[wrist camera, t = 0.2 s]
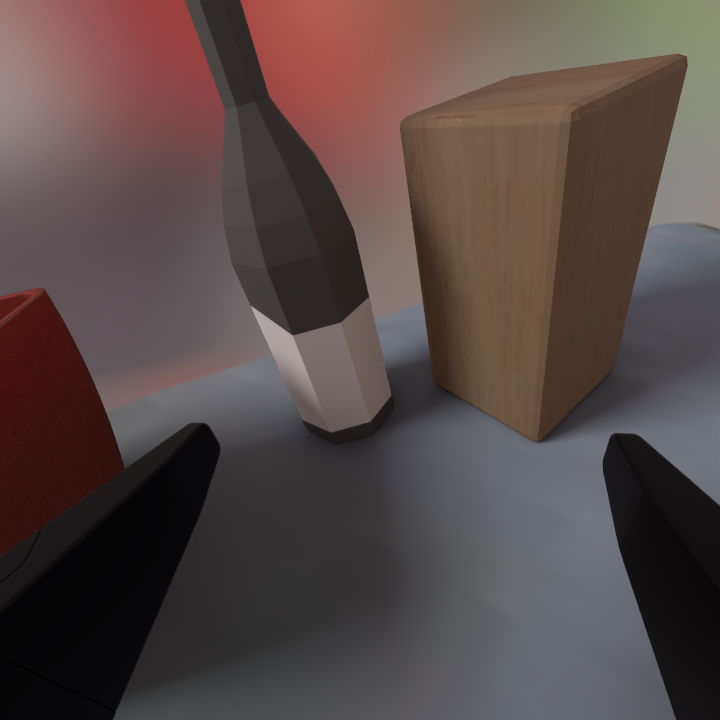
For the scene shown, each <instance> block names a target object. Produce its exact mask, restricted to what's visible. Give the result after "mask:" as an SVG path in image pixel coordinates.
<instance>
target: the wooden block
mask: <svg viewBox="0 0 720 720" xmlns="http://www.w3.org/2000/svg"><path fill="white" fill-rule="evenodd" d="M687 66H688V64H687V57H686V56H683V55H681V54H674V55H666V56H658V57H651V58H643V59H636V60H629V61H622V62H614V63H607V64H600V65H592V66H585V67H577V68H570V69H563V70H555V71H548V72H541V73H533V74H526V75H519V76H511V77H509V78H506V79H504V80H501V81H498V82H496V83H493V84H491V85H488V86H486V87H483V88H480V89H478V90H475V91H472V92H469V93H467V94H464V95H462V96H459V97H457V98H454V99H451V100H448V101H446V102H443V103H441V104H438V105H436V106H433V107H430V108H427V109H425V110H422V111H420V112H417V113H414V114H412V115H409V116H407V117H406V118H405V119H404V120H403V121H402V122H401V125H400V131H401V139H402V147H403V154H404V162H405V169H406V177H407V184H408V191H409V199H410V207H411V214H412V222H413V230H414V237H415V245H416V252H417V259H418V268H419V275H420V282H421V290H422V297H423V305H424V313H425V320H426V328H427V336H428V343H429V351H430V358H431V366H432V373H433V380H434V381H435V383H436V384H437V385H439V386H441V387H442V388H444V389H446V390H447V391H449V392H451V393H452V394H454V395H456V396H457V397H459V398H461V399H463V400H464V401H466V402H468V403H469V404H471V405H473V406H474V407H476V408H478V409H479V410H481V411H483V412H485V413H486V414H488V415H490V416H491V417H493V418H495V419H496V420H498V421H500V422H501V423H503V424H505V425H506V426H508V427H510V428H512V429H513V430H515V431H517V432H518V433H520V434H522V435H523V436H525V437H527V438H528V439H530V440H532V441H535V442H538V441H541V440H542V439H543V438H544V437H545V436H546V435H547V434H548V433H549V432H550V431H551V430H552V429H553V428H554V427H555V426H556V425H557V424H558V423H559V422H560V421H561V420H562V419H563V418H564V417H565V416H566V415H567V414H568V413H569V412H570V411H571V410H572V409H573V408H574V407H575V406H576V405H577V404H578V403H579V402H580V401H581V400H582V399H584V398H585V397H586V396H587V395H588V394H589V393H590V392H591V391H592V390H593V389H594V388H595V387H596V386H597V385H598V384H599V383H600V382H601V381H602V380H603V379H604V378H605V377H606V376H607V375H608V374H609V373H610V372H611V371H612V370H613V368H614V363H615V359H616V355H617V351H618V347H619V343H620V339H621V335H622V331H623V327H624V323H625V319H626V315H627V311H628V306H629V302H630V298H631V294H632V290H633V286H634V282H635V278H636V274H637V270H638V266H639V262H640V258H641V254H642V249H643V245H644V241H645V237H646V233H647V229H648V225H649V221H650V216H651V213H652V208H653V205H654V201H655V197H656V192H657V188H658V184H659V180H660V176H661V172H662V168H663V164H664V160H665V156H666V152H667V147H668V143H669V139H670V135H671V131H672V127H673V123H674V119H675V115H676V111H677V107H678V103H679V99H680V95H681V91H682V87H683V83H684V79H685V74H686V70H687Z"/></svg>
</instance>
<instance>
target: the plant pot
mask: <svg viewBox="0 0 720 720" xmlns="http://www.w3.org/2000/svg"><path fill="white" fill-rule="evenodd" d="M124 469H125V468H124V465H123V461H122V458H121V455H120V451H119V448H118V445H117V442H116V439H115V436H114V433H113V430H112V427H111V424H110V421H109V419H108V416H107V414H106V411H105V408H104V406H103V403H102V401H101V398H100V396H99V394H98V391H97V389H96V387H95V384H94V382H93V380H92V377H91V375H90V373H89V371H88V368H87V366H86V364H85V362H84V360H83V358H82V356H81V354H80V352H79V350H78V348H77V346H76V344H75V342H74V340H73V338H72V336H71V334H70V332H69V330H68V328H67V326H66V325H65V323H64V321H63V319H62V317H61V316H60V314H59V312H58V311H57V309H56V307H55V305H54V304H53V302H52V300H51V299H50V297H49V296H48V294H47V293H46V291H45V290H44V289H43V288H36V289H31V290H27V291H22V292H18V293H14V294H10V295H5V296H1V297H0V556H1V555H3V554H4V553H6V552H7V551H9V550H10V549H12V548H13V547H15V546H16V545H17V544H19V543H20V542H22V541H23V540H25V539H26V538H28V537H29V536H30V535H32V534H33V533H35V532H36V531H37V530H39V529H40V528H43V527H44V526H45V525H46V524H47V523H49V522H50V521H52V520H53V519H55V518H56V517H57V516H59V515H60V514H62V513H63V512H64V511H66V510H67V509H69V508H70V507H72V506H73V505H74V504H76V503H77V502H79V501H80V500H82V499H83V498H84V497H86V496H87V495H89V494H90V493H91V492H93V491H94V490H96V489H97V488H99V487H100V486H101V485H103V484H104V483H106V482H107V481H109V480H110V479H111V478H113V477H114V476H116V475H117V474H118V473H120V472H121V471H123V470H124Z"/></svg>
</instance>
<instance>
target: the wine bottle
mask: <svg viewBox="0 0 720 720" xmlns="http://www.w3.org/2000/svg"><path fill="white" fill-rule="evenodd" d="M185 2H186V4H187V7H188V10H189V13H190V15H191V18H192V21H193V24H194V26H195V29H196V32H197V34H198V37H199V40H200V43H201V45H202V48H203V51H204V54H205V56H206V59H207V62H208V65H209V67H210V70H211V73H212V76H213V78H214V81H215V84H216V86H217V89H218V92H219V95H220V97H221V100H222V103H223V106H224V108H225V126H224V148H223V165H222V180H221V192H222V203H223V217H224V228H225V233H226V238H227V243H228V247H229V252H230V257H231V262H232V265H233V267H234V269H235V272H236V274H237V276H238V279H239V280H240V283H241V285H242V287H243V290H244V292H245V294H246V296H247V298H248V301H249V303H250V305H251V307H252V310H253V312H254V314H255V316H256V319H257V321H258V323H259V325H260V327H261V330H262V332H263V334H264V336H265V339H266V341H267V343H268V345H269V347H270V350H271V352H272V354H273V356H274V359H275V361H276V363H277V365H278V367H279V370H280V372H281V374H282V376H283V379H284V381H285V383H286V385H287V387H288V390H289V392H290V394H291V396H292V399H293V401H294V403H295V405H296V407H297V410H298V412H299V414H300V416H301V419H302V421H303V423H304V425H305V427H306V428H307V429H308V431H309V432H311V433H313V434H315V435H318V436H320V437H322V438H324V439H326V440H328V441H331V442H333V443H335V444H339V443H343V442H346V441H350V440H354V439H357V438H361V437H365V436H368V435H372V434H374V433H375V431H376V430H377V429H378V427H379V426H380V425H381V424H382V422H383V421H384V420H385V418H386V417H387V416H388V415H389V413H390V412H391V411H392V409H393V400H392V395H391V391H390V386H389V382H388V377H387V373H386V369H385V364H384V360H383V355H382V351H381V347H380V342H379V338H378V334H377V329H376V325H375V320H374V316H373V312H372V307H371V303H370V299H369V294H368V290H367V285H366V281H365V277H364V272H363V268H362V263H361V259H360V255H359V250H358V246H357V242H356V237H355V233H354V229H353V227H352V225H351V223H350V220H349V218H348V216H347V214H346V212H345V210H344V207H343V205H342V203H341V201H340V198H339V196H338V194H337V192H336V190H335V188H334V185H333V184H332V182H331V181H330V179H329V177H328V175H327V174H326V172H325V170H324V169H323V167H322V166H321V164H320V162H319V161H318V159H317V157H316V155H315V154H314V153H313V151H312V150H311V149H310V148H309V146H308V145H307V144H306V143H305V142H304V140H303V139H302V138H301V137H300V136H299V134H298V133H297V132H296V130H295V129H294V128H293V127H292V125H291V124H290V123H289V122H288V121H287V119H286V118H285V117H284V116H283V114H282V113H281V112H280V110H279V109H278V108H277V107H276V105H275V103H274V102H273V101H272V99H271V98H270V97H269V94H268V91H267V88H266V84H265V81H264V78H263V74H262V72H261V68H260V64H259V61H258V58H257V54H256V51H255V48H254V45H253V41H252V38H251V34H250V31H249V28H248V24H247V22H246V18H245V14H244V11H243V8H242V4H241V1H240V0H185Z"/></svg>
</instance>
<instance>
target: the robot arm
mask: <svg viewBox="0 0 720 720" xmlns="http://www.w3.org/2000/svg"><path fill="white" fill-rule="evenodd" d="M219 454H220V444H219V442H218V441H217V439H216V437H215V435H214V434H213V432H212V430H211V429H210V427H209V426H208V425H207V424H206V423H190V424H188V425H187V426H185V427H184V428H182V429H181V430H180V431H178V432H177V433H175V434H174V435H172V436H171V437H170V438H168V439H167V440H165V441H164V442H163V443H161V444H160V445H158V446H157V447H155V448H154V449H153V450H151V451H150V452H148V453H147V454H145V455H144V456H143V457H141V458H140V459H138V460H137V461H136V462H134V463H133V464H131V465H130V466H128V467H127V468H126V469H124V470H123V471H121V472H120V473H118V474H117V475H116V476H114V477H113V478H111V479H110V480H109V481H107V482H106V483H104V484H103V485H101V486H100V487H99V488H97V489H96V490H94V491H93V492H91V493H90V494H89V495H87V496H86V497H84V498H83V499H82V500H80V501H79V502H77V503H76V504H74V505H73V506H72V507H70V508H69V509H67V510H66V511H64V512H63V513H62V514H60V515H59V516H57V517H56V518H55V519H53V520H52V521H50V522H49V523H47V524H46V525H45V526H44V527H43V528H40V529H39V530H37V531H36V532H35V533H33V534H32V535H30V536H29V537H28V538H26V539H25V540H23V541H22V542H20V543H19V544H17V545H16V546H15V547H13V548H12V549H10V550H9V551H7V552H6V553H4V554H3V555H1V556H0V720H113V718H114V716H115V713H116V711H115V710H117V708H118V706H119V703H120V701H121V699H122V696H123V694H124V692H125V689H126V687H127V685H128V682H129V680H130V678H131V675H132V673H133V671H134V668H135V666H136V664H137V661H138V659H139V657H140V654H141V652H142V649H143V647H144V645H145V642H146V640H147V638H148V635H149V633H150V631H151V628H152V626H153V624H154V621H155V619H156V617H157V614H158V612H159V610H160V607H161V605H162V602H163V600H164V598H165V595H166V593H167V591H168V588H169V586H170V584H171V581H172V579H173V577H174V574H175V572H176V570H177V567H178V565H179V563H180V560H181V558H182V556H183V553H184V551H185V548H186V546H187V544H188V541H189V539H190V537H191V534H192V532H193V530H194V527H195V525H196V523H197V520H198V518H199V515H200V513H201V510H202V508H203V505H204V502H205V499H206V496H207V492H208V489H209V486H210V483H211V480H212V477H213V473H214V470H215V467H216V464H217V461H218V458H219ZM603 473H604V478H605V483H606V488H607V493H608V498H609V503H610V507H611V512H612V517H613V522H614V527H615V532H616V536H617V541H618V545H619V549H620V552H621V555H622V559H623V562H624V565H625V568H626V571H627V574H628V577H629V580H630V583H631V586H632V589H633V592H634V595H635V598H636V601H637V604H638V607H639V610H640V613H641V616H642V619H643V622H644V625H645V628H646V631H647V634H648V637H649V640H650V643H651V646H652V649H653V652H654V655H655V658H656V661H657V664H658V667H659V670H660V673H661V676H662V679H663V682H664V685H665V688H666V691H667V694H668V697H669V700H670V703H671V706H672V709H673V712H674V715H675V718H676V720H720V505H719V504H717V503H716V502H715V501H714V500H713V499H712V498H710V497H709V496H708V495H707V494H706V493H705V492H704V491H702V490H701V489H700V488H699V487H698V486H697V485H696V484H694V483H693V482H692V481H691V480H690V479H689V478H687V477H686V476H685V475H684V474H683V473H682V472H681V471H679V470H678V469H677V468H676V467H675V466H674V465H672V464H671V463H670V462H669V461H668V460H667V459H666V458H664V457H663V456H662V455H661V454H660V453H659V452H658V451H656V450H655V449H654V448H653V447H652V446H651V445H649V444H648V443H647V442H646V441H645V440H644V439H643V438H641V437H640V436H638V435H636V434H622V433H615V434H613V435H611V437H610V439H609V442H608V445H607V449H606V452H605V455H604V458H603Z"/></svg>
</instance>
